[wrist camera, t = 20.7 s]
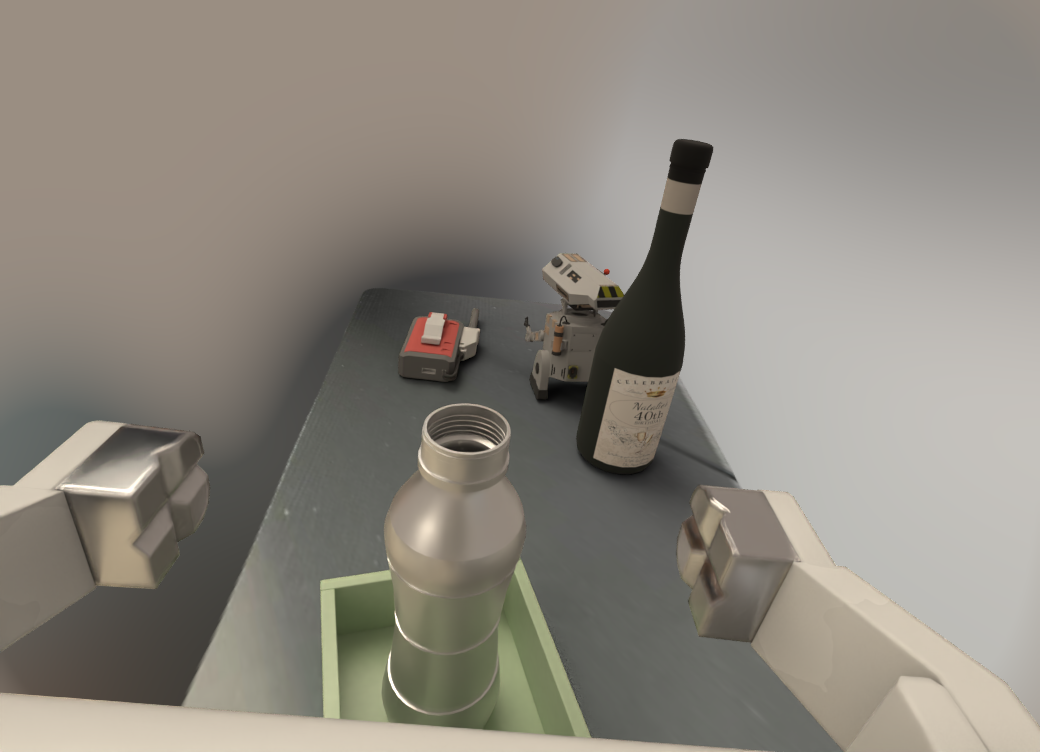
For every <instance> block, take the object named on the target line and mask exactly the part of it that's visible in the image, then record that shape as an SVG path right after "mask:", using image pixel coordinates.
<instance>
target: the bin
mask: <svg viewBox="0 0 1040 752" xmlns="http://www.w3.org/2000/svg"><path fill="white" fill-rule="evenodd" d="M320 590H321V633H322V676H323V718H334V719H348V720H361V721H374V722H388V723H389V721H388V719H387V716H386V712H385V709H384V706H383V701H382V693H381V691H382V680H383V676H384V671H385V667H386V663H387V660H388V656H389V654H390V651H391V648H392V641H393V634H394V627H395V607H394V590H393V583H392V578H391V573H390V570H387V571H380V572H374V573H367V574H360V575H353V576H347V577H340V578H333V579H327V580H321V582H320ZM497 651H498V657H499V666H500V689H499V696H498V699H497V702H496V705H495V707H494V709H493V711H492V713H491V715H490V717H489V719H488V721H487V723H486V725H485V727H484V728H483V729H482V730H494V731H508V732H521V733H534V734H548V735H561V736H574V737H587V738H591V735H590V733H589V730H588V728H587V725H586V723H585V720H584V718H583V715H582V713H581V710H580V708H579V705H578V703H577V700H576V697H575V695H574V692H573V690H572V687H571V685H570V682H569V680H568V677H567V675H566V672H565V670H564V667H563V664H562V662H561V659H560V657H559V654H558V652H557V649H556V647H555V644H554V642H553V639H552V637H551V634H550V632H549V629H548V626H547V624H546V621H545V619H544V616H543V614H542V611H541V609H540V606H539V604H538V601H537V599H536V596H535V594H534V591H533V588H532V586H531V583H530V581H529V578H528V576H527V573H526V571H525V568H524V566H523V563H522V561H521V558H519V560H518V562H517V565H516V568H515V570H514V573H513V576H512V578H511V581H510V584H509V586H508V589H507V591H506V596H505V600H504V604H503V608H502V612H501V617H500V621H499V625H498V650H497Z"/></svg>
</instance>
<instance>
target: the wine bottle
mask: <svg viewBox="0 0 1040 752" xmlns="http://www.w3.org/2000/svg"><path fill="white" fill-rule="evenodd" d="M712 153H713V147H712V145H710V144H708V143H704V142H700V141H694V140H687V139H678V140H676V141H675V142H674V144H673V148H672V152H671V157H670V162H671V164H670V169H669V173H668V178H667V182H666V186H665V190H664V194H663V199H662V203H661V207H660V211H659V215H658V220H657V223H656V228H655V232H654V236H653V240H652V243H651V247H650V250H649V253H648V255H647V258H646V260H645V263H644V265H643V267H642V269H641V271H640V272H639V274H638V276H637V278H636V279H635V280H634V282H633V284H632V285H631V286H630V288H629V289H628V291H627V292H626V294H625V295H624V296H623V298H622V299H621V301H620V302H619V303H618V305H617V306H616V308H615V309H614V311H613V312H612V314H611V316H610V317H609V319H608V321H607V322H606V324H605V326H604V328H603V330H602V332H601V335H600V337H599V340H598V342H597V345H596V348H595V353H594V357H593V362H592V367H591V371H590V376H589V380H588V385H587V389H586V394H585V399H584V403H583V408H582V412H581V417H580V422H579V426H578V431H577V437H576V439H577V447H578V450H579V451H580V453H581V454H582V456H583V457H584V458H585V459H586V460H587V461H588V462H590V463H591V464H592V465H593V466H595V467H597V468H600V469H602V470H604V471H607V472H611V473H616V474H633V473H636V472H640V471H643V470H644V469H645V468H646V467H648V466H649V465H650V464H651V463H652V461H653V459H654V456H655V452H656V449H657V446H658V443H659V440H660V436H661V433H662V430H663V426H664V423H665V420H666V417H667V413H668V410H669V407H670V404H671V400H672V397H673V394H674V391H675V387H676V384H677V381H678V377H679V374H680V371H681V368H682V364H683V357H684V349H685V327H684V318H683V311H682V302H681V293H680V264H681V257H682V252H683V248H684V244H685V240H686V237H687V233H688V230H689V226H690V223H691V219H692V215H693V212H694V208H695V205H696V201H697V198H698V194H699V190H700V187H701V184H702V180H703V177H704V173H705V172H706V168H708V166H709V163H710V160H711V156H712Z"/></svg>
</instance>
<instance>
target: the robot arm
mask: <svg viewBox="0 0 1040 752" xmlns="http://www.w3.org/2000/svg"><path fill="white" fill-rule="evenodd" d="M203 454H204V450H203V446H202V442H201V437H200V436H199V435H197V434H196V433H195V432H191V431H184V430H176V429H167V428H159V427H152V426H143V425H136V424H125V423H117V422H107V421H99V420H98V421H94V422H89V423H87V424H85V425H84V426H83V427H82V428H81V429H80V430H78V431H77V432H76V433H75V434H74V435H73V436H71V437H70V438H69V439H68V440H67V441H65V442H64V443H63V444H62V445H61V446H60V447H58V448H57V449H56V450H55V451H54V452H53V453H51V454H50V455H49V456H48V457H47V458H45V459H44V460H43V461H42V462H41V463H40V464H38V465H37V466H36V467H35V468H34V469H32V470H31V471H30V472H29V473H28V474H27V475H25V476H24V477H23V478H22V479H21V480H20V481H18V482H17V483H16V484H15V485H14V486H7V485H0V652H1V651H3V650H4V649H6V648H8V647H9V646H10V645H12V644H14V643H15V642H16V641H18V640H19V639H21V638H22V637H24V636H25V635H27V634H28V633H30V632H32V631H33V630H34V629H36V628H37V627H39V626H40V625H42V624H44V623H45V622H46V621H48V620H49V619H51V618H52V617H54V616H55V615H57V614H58V613H60V612H61V611H63V610H64V609H66V608H67V607H69V606H70V605H72V604H73V603H75V602H76V601H78V600H79V599H81V598H82V597H84V596H85V595H87V594H88V593H90V592H91V591H93V590H94V589H96V585H100V586H118V587H133V588H150V589H156V588H157V587H158V585H159V584H160V583H161V581H162V580H163V578H164V577H165V575H166V574H167V572H168V571H169V569H170V568H171V567H172V565H173V563H174V562H175V561H176V559H177V558H178V556H179V554H180V553H179V548H178V544H177V542H179V541H180V540H183V539H184V538H186V537H188V536H189V535H191V534H193V533H195V531H196V530H197V528H198V526H199V525H200V523H201V522H202V520H203V519H204V515H205V513H206V509H207V507H208V504H209V496H210V484H209V478H208V475H207V474H206V473H205V472H204V471H203V470H202V469H201V468H200V467H199V465H198V464H197V462H198V460H199V459H200V458H201V457H202V456H203ZM689 504H690V506H691V509H692V512H693V515H692V516H691V517H689V518H688V519H686V520H685V521H684V522H682V525H681V528H680V531H679V534H678V537H677V549H676V556H677V565H678V569H679V573H680V576H681V579H682V580H683V581H684V582H685V583H686V584H687V585H688V586H689V587H691V588H692V592H691V594H690V597H689V600H688V603H689V606H690V609H691V613H692V616H693V619H694V622H695V626H696V629H697V632H698V635H699V637H707V638H715V639H724V640H732V641H741V642H750V643H752V644H751V646H752V647H753V648H754V650H755V651H756V652H757V653H758V654H759V655H760V656H761V658H762V659H763V660H764V661H765V662H766V663H767V664H768V666H769V667H770V668H771V669H772V670H773V671H774V672H775V674H776V675H777V676H778V677H779V678H780V679H781V680H782V682H783V683H784V684H785V685H786V686H787V687H788V688H789V690H790V691H791V692H792V693H793V694H794V695H795V696H796V698H797V699H798V700H799V701H800V702H801V703H802V704H803V706H804V707H805V708H806V709H807V710H808V711H809V712H810V713H811V715H812V716H813V717H814V718H815V719H816V720H817V721H818V723H819V724H820V725H821V726H822V727H823V728H824V729H825V731H826V732H827V733H828V734H829V735H830V736H831V737H832V739H833V740H834V741H835V742H836V743H837V744H838V745H839V747H840V748H841V749H842V750H843V751H844V752H1040V726H1039V725H1038V723H1037V722H1036V721H1035V719H1034V718H1033V717H1032V716H1031V714H1030V713H1029V712H1028V710H1027V709H1026V708H1025V706H1024V705H1023V704H1022V702H1021V701H1020V700H1019V699H1018V697H1017V696H1016V695H1015V693H1014V692H1013V691H1012V689H1011V688H1010V687H1009V685H1008V684H1007V683H1006V682H1005V681H1003V680H1002V679H1000V678H999V677H998V676H996V675H995V674H994V673H992V672H991V671H989V670H988V669H987V668H985V667H984V666H983V665H981V664H980V663H978V662H977V661H976V660H974V659H973V658H971V657H970V656H969V655H967V654H966V653H964V652H963V651H962V650H960V649H959V648H958V647H956V646H955V645H953V644H952V643H951V642H949V641H948V640H946V639H945V638H944V637H942V636H941V635H940V634H938V633H936V632H935V631H934V630H933V629H931V628H930V627H928V626H927V625H926V624H924V623H923V622H921V621H920V620H919V619H917V618H916V617H915V616H913V615H912V614H910V613H909V612H907V611H906V610H905V609H903V608H902V607H901V606H899V605H898V604H896V603H895V602H894V601H892V600H891V599H889V598H888V597H887V596H885V595H884V594H883V593H881V592H880V591H878V590H877V589H876V588H874V587H873V586H871V585H870V584H869V583H867V582H866V581H864V580H863V579H861V578H860V577H859V576H858V575H856V574H855V573H853V572H852V571H850V570H849V569H848V568H847V567H842V566H836V565H835V563H834V561H833V560H832V558H831V557H830V555H829V553H828V552H827V550H826V549H825V547H824V545H823V544H822V542H821V540H820V539H819V537H818V536H817V534H816V532H815V531H814V529H813V527H812V526H811V524H810V523H809V521H808V519H807V517H806V516H805V514H804V513H803V511H802V509H801V508H800V506H799V504H798V503H797V501H796V500H795V498H794V497H793V496H792V495H790V494H789V493H788V492H780V491H768V490H757V491H755V490H745V489H736V488H726V487H716V486H706V485H698V487H697V488H696V489H695V490H694V492H693V494H692V497H691V500H690V502H689ZM0 752H772V751H758V750H745V749H732V748H719V747H706V746H693V745H679V744H666V743H653V742H640V741H627V740H614V739H600V738H587V737H574V736H561V735H548V734H534V733H521V732H508V731H494V730H481V729H468V728H454V727H441V726H428V725H414V724H401V723H388V722H374V721H361V720H348V719H334V718H321V717H308V716H295V715H282V714H269V713H256V712H243V711H230V710H217V709H205V708H192V707H178V706H166V705H153V704H139V703H127V702H113V701H101V700H88V699H75V698H62V697H49V696H48V697H47V696H35V695H21V694H9V693H0Z"/></svg>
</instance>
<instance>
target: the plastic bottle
mask: <svg viewBox="0 0 1040 752" xmlns="http://www.w3.org/2000/svg"><path fill="white" fill-rule="evenodd" d="M510 435H511V434H510V426H509V424H508V422H507V420H506V419H505V418H504V417H503V416H502V415H501V414H499V413H498V412H496V411H494V410H493V409H490V408H487V407H485V406H481V405H476V404H453V405H448V406H444V407H442V408H439V409H437V410H435V411H433V412H432V413H431V414H430V415H429V416H428V417H427V418H426V420H425V422H424V426H423V428H422V443H421V446H420V449H419V451H418V468H419V470H418V471H416V472H415V473H414V474H413V475H412V476H411V477H410V478H409V479H408V480H407V481H406V483H405V484H404V485H403V486H402V487H401V488H400V489H399V491H398V492H397V493H396V495H395V496H394V499H393V501H392V504H391V506H390V509H389V511H388V514H387V516H386V519H385V525H384V536H385V547H386V553H387V557H388V563H389V568H390V573H391V578H392V583H393V590H394V607H395V627H394V634H393V641H392V648H391V651H390V654H389V656H388V660H387V663H386V667H385V671H384V676H383V680H382V691H381V693H382V701H383V706H384V709H385V712H386V716H387V719H388V721H389V723H401V724H414V725H428V726H441V727H454V728H468V729H481V730H482V729H483V728H484V727H485V725H486V723H487V721H488V719H489V717H490V715H491V713H492V711H493V709H494V707H495V705H496V702H497V699H498V696H499V689H500V666H499V657H498V651H497V650H498V625H499V621H500V617H501V612H502V608H503V604H504V600H505V596H506V591H507V589H508V586H509V584H510V581H511V578H512V576H513V573H514V570H515V568H516V565H517V562H518V560H519V558H520V555H521V552H522V549H523V545H524V541H525V538H526V521H525V516H524V511H523V506H522V502H521V500H520V498H519V496H518V494H517V492H516V491H515V489H514V487H513V486H512V484H511V482H510V481H509V480H508V478H507V477H506V476H505V474H506V472H507V469H508V463H509V452H508V448H509V442H510Z"/></svg>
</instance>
